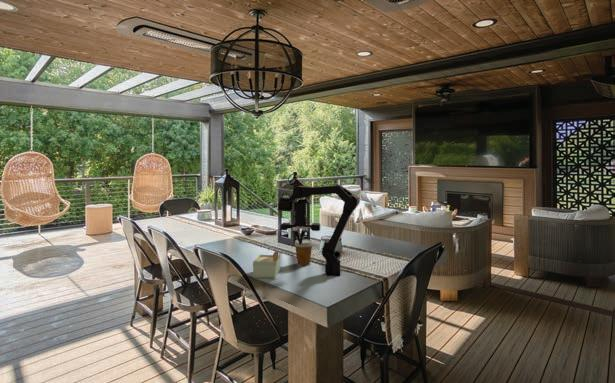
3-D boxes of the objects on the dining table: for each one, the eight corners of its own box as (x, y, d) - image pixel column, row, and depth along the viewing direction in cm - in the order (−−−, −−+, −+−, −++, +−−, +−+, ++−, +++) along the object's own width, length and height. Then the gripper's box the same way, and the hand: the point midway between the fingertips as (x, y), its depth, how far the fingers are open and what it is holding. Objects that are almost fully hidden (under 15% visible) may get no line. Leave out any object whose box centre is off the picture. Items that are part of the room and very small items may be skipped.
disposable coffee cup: (316, 263, 192) (316, 240, 191) (304, 268, 185) (303, 244, 184) (303, 260, 199) (303, 238, 197) (290, 264, 192) (290, 241, 190)
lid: (279, 258, 179) (279, 250, 179) (274, 264, 170) (274, 255, 170) (261, 258, 180) (261, 249, 180) (256, 263, 171) (255, 254, 171)
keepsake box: (279, 270, 181) (279, 255, 180) (274, 278, 169) (274, 262, 169) (259, 269, 182) (259, 254, 182) (253, 277, 171) (253, 261, 170)
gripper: (321, 209, 185) (321, 240, 187) (284, 209, 187) (284, 239, 189) (319, 213, 174) (319, 246, 176) (279, 212, 176) (280, 245, 178)
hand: (300, 244), depth 180 cm, fingers closed
